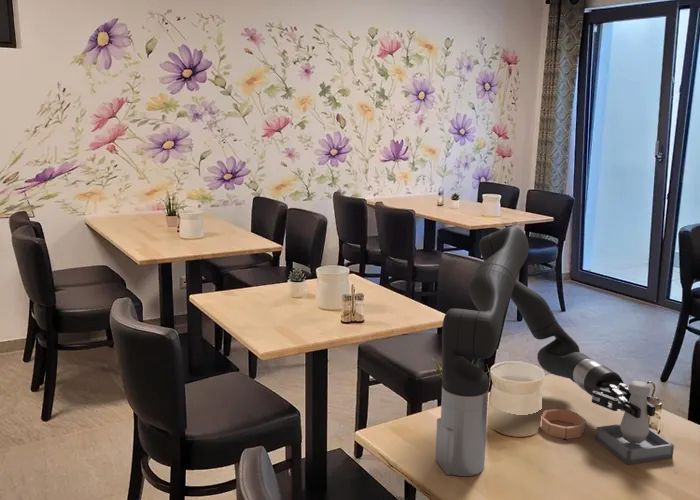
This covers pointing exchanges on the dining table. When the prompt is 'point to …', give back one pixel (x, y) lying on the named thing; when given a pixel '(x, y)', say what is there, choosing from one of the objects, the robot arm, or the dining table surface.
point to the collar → (561, 430)
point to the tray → (634, 445)
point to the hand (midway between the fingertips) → (646, 412)
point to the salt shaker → (639, 427)
